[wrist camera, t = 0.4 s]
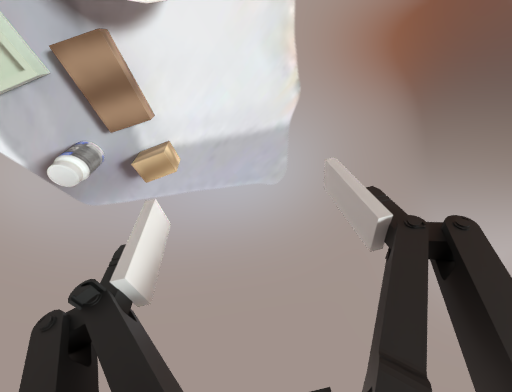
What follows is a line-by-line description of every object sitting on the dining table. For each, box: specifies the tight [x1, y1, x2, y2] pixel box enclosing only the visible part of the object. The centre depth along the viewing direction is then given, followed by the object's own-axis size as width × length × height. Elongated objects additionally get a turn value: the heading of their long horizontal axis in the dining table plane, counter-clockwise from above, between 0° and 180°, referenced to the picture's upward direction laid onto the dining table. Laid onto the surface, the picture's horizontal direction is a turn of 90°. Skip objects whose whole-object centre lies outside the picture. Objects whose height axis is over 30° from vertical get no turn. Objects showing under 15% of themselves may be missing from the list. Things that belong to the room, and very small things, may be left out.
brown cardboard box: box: [49, 28, 155, 133], centre depth 32 cm, size 12×7×3 cm, turn 15°
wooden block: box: [131, 141, 180, 183], centre depth 38 cm, size 4×6×5 cm, turn 108°
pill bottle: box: [47, 141, 104, 187], centre depth 35 cm, size 5×5×8 cm
